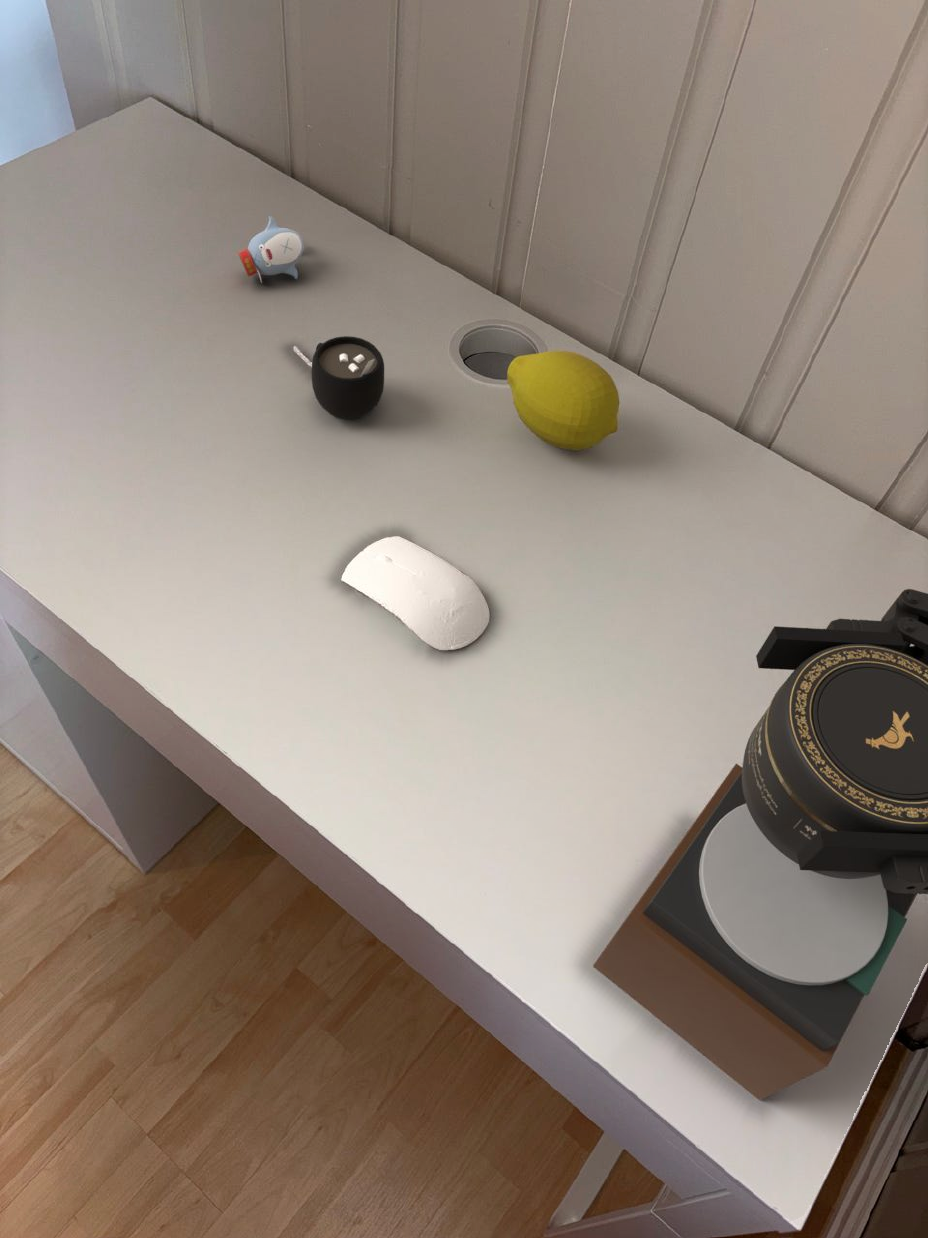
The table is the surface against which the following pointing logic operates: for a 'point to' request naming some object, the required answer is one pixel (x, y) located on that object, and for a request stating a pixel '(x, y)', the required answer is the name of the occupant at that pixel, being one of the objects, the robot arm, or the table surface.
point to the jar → (841, 750)
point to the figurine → (273, 251)
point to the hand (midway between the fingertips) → (786, 742)
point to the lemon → (564, 398)
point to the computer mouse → (420, 592)
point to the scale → (753, 948)
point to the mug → (347, 376)
